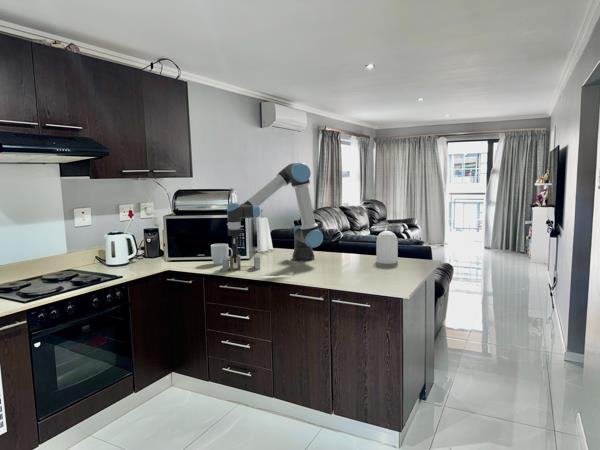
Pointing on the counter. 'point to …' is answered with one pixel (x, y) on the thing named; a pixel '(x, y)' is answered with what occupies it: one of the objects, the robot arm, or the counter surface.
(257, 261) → the free jaw
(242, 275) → the counter surface
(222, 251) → the mug
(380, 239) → the container
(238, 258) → the block
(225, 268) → the fixed jaw
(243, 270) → the vise base
